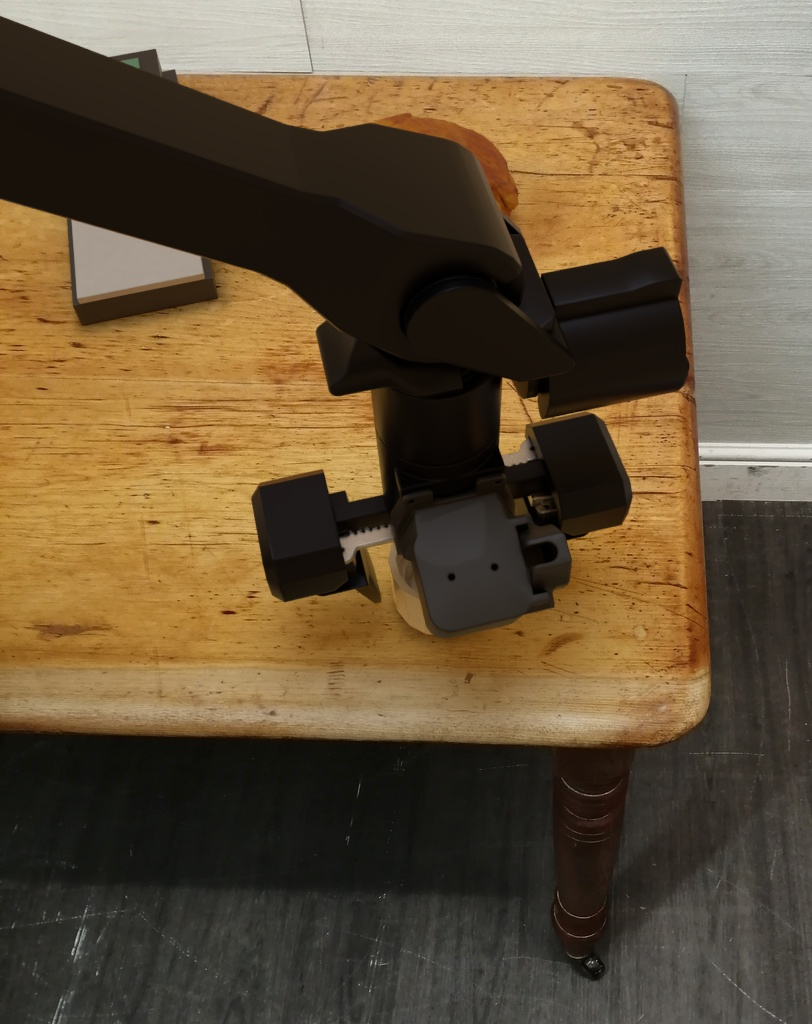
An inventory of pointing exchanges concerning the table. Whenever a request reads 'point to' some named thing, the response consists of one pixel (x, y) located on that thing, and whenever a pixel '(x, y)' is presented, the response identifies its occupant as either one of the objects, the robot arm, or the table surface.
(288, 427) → the table surface
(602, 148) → the table surface
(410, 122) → the croissant
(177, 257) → the scale
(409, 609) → the bowl
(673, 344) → the robot arm
